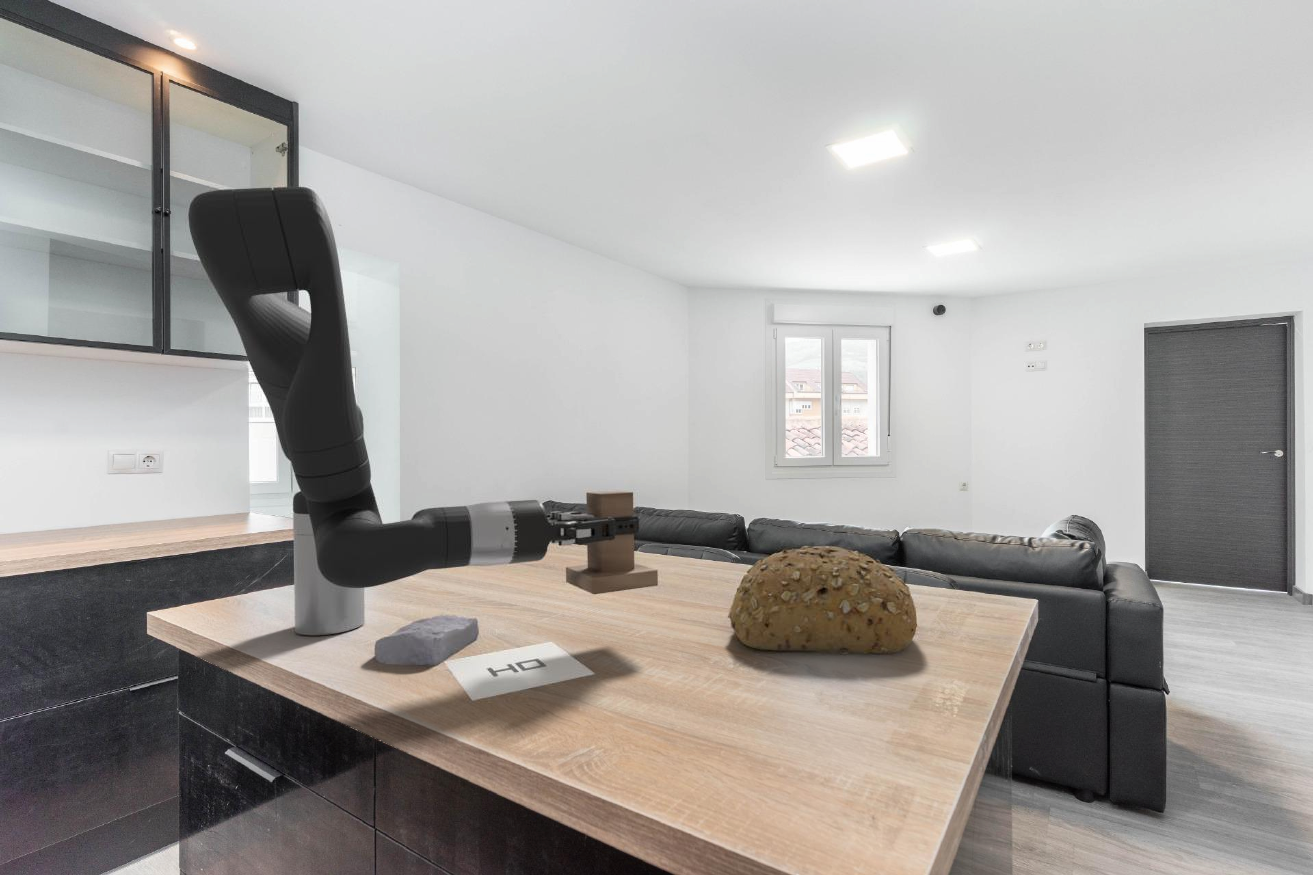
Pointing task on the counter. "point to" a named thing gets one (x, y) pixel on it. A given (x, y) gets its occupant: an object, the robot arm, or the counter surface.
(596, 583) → the walnut stamp
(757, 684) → the counter surface
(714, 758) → the counter surface
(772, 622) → the bread
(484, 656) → the tile
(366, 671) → the counter surface
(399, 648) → the stone block
